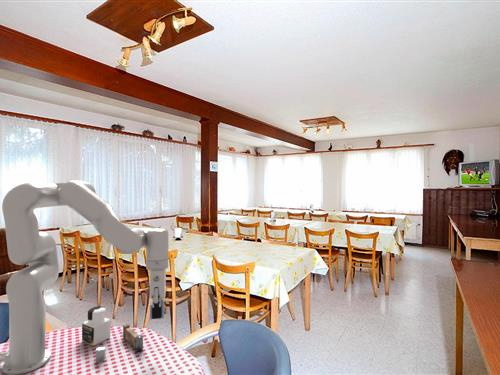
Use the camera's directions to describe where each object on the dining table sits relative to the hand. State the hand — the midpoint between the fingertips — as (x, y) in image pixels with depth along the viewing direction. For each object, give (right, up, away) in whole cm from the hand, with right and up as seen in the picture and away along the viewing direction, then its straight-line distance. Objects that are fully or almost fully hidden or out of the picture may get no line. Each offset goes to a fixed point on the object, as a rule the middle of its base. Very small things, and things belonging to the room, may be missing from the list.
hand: (157, 314), depth 100 cm
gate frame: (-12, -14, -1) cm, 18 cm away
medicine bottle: (-26, -14, +9) cm, 31 cm away
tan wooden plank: (-12, -13, +7) cm, 19 cm away
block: (0, -1, 0) cm, 1 cm away
